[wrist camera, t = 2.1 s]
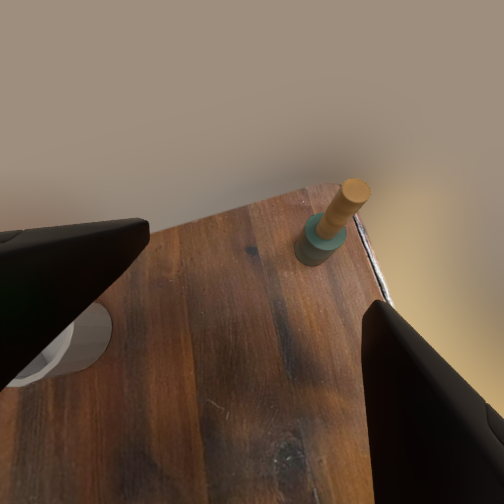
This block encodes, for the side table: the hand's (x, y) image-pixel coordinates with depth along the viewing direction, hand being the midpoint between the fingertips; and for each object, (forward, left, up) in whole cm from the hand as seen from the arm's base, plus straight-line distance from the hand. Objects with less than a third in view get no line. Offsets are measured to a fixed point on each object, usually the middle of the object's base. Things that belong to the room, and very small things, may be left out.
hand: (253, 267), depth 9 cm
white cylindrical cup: (+4, +16, -14) cm, 22 cm away
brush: (+3, -8, -14) cm, 17 cm away
